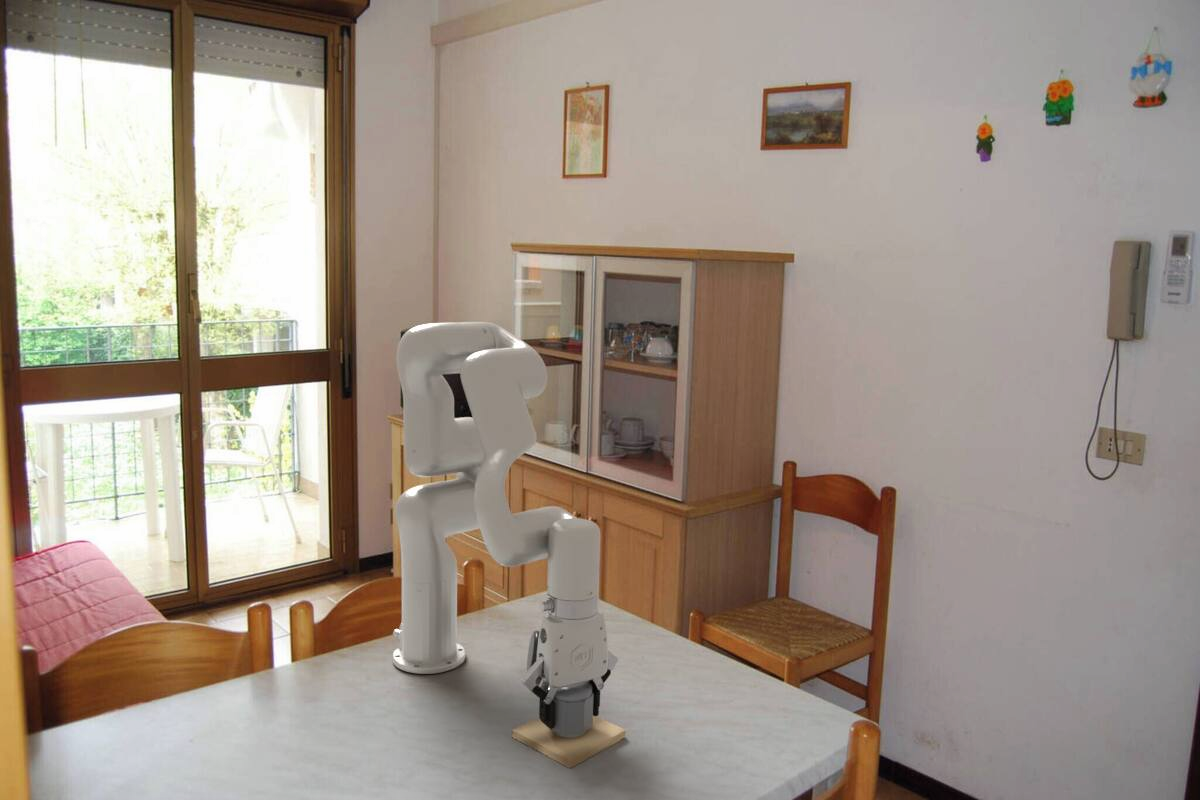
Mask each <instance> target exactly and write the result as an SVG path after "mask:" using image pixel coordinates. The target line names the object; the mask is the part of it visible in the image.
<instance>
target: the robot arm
mask: <svg viewBox="0 0 1200 800" xmlns="http://www.w3.org/2000/svg"><path fill="white" fill-rule="evenodd" d="M396 369H397V374H398V378H399V382H400V387H401V390H402V399H403V410H402V411H403V416H402V417H403V452H404V453H403V454H404V455H403V456H404V463H405V466H406V469H407V470H408V472H409V474H411V475H413V476H415V477H418V478H432V477H433V478H434V477H439V476H447V475H452V474H453V475H454V474H455V478H454V479H450V480H449V479H448V480H440V481H435V482H429V483H425V484H424V483H423V484H419V485H416V486H413V487H410V488H408V489H407V490H405V491H403V492H402V494H401V495H400V496H399V497H398V499H397V501H396V503H395V507H394V508H395V513H394V514H395V519H396V520H395V521H396V525H397V530H398V536H399V543H400V555H401V558H400V559H401V623H400V624H399V628H396V629H394V630H393V631H392V635H393V637H394V638H398V639H399V647H397V648H396V649H395V650H394V651H393V653H392V663H393V665H394V666H395V667H397V668H398V669H399V670H401V671H404V672H407V673H410V674H411V673H412V674H418V675H430V674H432V675H433V674H440V673H444V672H448V671H451V670H453V669H456V668H457V667H459V666H461V665H462V664H463V663H464V662H465V659H466V650H465V648H464V647H463V646H462V645H461V644H460V643H457V641H458V640H457V637H458V636H457V634H458V633H457V631H458V630H457V629H458V623H457V622H458V563H457V562H458V561H457V558H456V555H455V554H454V551H453V550H452V549H451V547H450V545H448V543H447V541H446V539H447V538H448V537H451V536H454V535H457V534H462V533H466V532H470V531H475V530H478V529H479V530H480V534H481V537H482V539H483V543H484V545H485V548H486V549H487V552H488V553H489V555H490V557H491V559H492V560H494V561H495V562H496V563H497V564H498V565H500V566H503V567H507V568H508V567H509V568H512V567H517V566H521V565H522V566H523V565H525V564H529V563H533V562H536V561H540V560H545V559H547V588H546V589H547V592H546V595H545V598H546V599H545V600H544V601H542V602H539V610H540V612H543V614H542V619H541V623H540V626H539V630H538V631H539V637H538V646H537V659H536V662H535V663H534V664H533V665H532V667H531V668H530V669H529V670H528V671H526V672H525V673H524V674H523V675H522V677H521V678H520V680H521V683H522V684H523V685H524V686H525V687H526V688H527V689H528V690H529V691H530V692H532V694H534V695H535V696H536V697H537V698H539V699H538V700H539V701H538V702H539V704H538V705H539V706H538V707H539V708H538V717H539V718H540V720H541V721H542V722H543V723H544V724H545V725H546V726H547V727H548V728H549V729H553V728H554V727H555V703H554V702H553V701H552V700H553V697H554V695H555V693H556V690H557V688H562V687H566V686H570V685H574V684H578V683H582V682H586V681H587V682H589V683H590V684H591V685H592V692H593V694H594V696H593V716H597V717H599V713H600V711H599V710H600V706H601V691H602V690H603V689H604V687H605V682H606V681H607V680H608V678H609V677H610V676H611V673H612V671H613V670H614V669H615V666H617V663H618V661H619V658H618V657H617V656H616V655H614V654H613V653H611V652H610V651H609V646H608V645H609V644H608V634H607V627H606V626H607V625H606V620H605V615H604V612H603V610H602V609H600V608H599V602H600V601H599V600H600V599H599V598H600V595H599V594H600V593H599V592H600V568H601V567H600V565H601V563H600V562H601V530H600V527H599V525H597V524H596V523H595V522H594V521H592V520H589V519H585V518H578V517H577V516H575V515H573V514H572V513H570V512H569V511H568V510H567V509H564V508H562V507H561V506H555V505H554V506H553V505H551V506H543V507H539V508H536V509H535V508H533V509H529V510H525V511H519V512H516V513H511V508H510V506H509V503H508V500H507V494H506V479H507V475H508V472H509V470H510V468H511V467H512V465H513V464H514V462H515V460H517V459H519V457H521V456H523V455H524V454H525V453H527V452H528V451H530V450H531V449H532V448H533V447H534V446H535V444H536V442H537V438H538V437H537V431H536V429H535V426H534V424H533V422H532V417H531V416H530V413H529V409H528V406H527V403H526V400H527V399H533V398H537V397H539V396H540V395H542V393H544V391H545V390H546V387H547V384H548V370H547V367H546V363H545V362H544V359H543V358H542V357H541V355H540V354H539V353H538V351H536V349H534V348H533V347H532V346H531V345H529V343H527V342H525V341H523V340H522V339H521V338H519V337H518V336H516V335H514V334H513V333H511V332H509V331H508V330H507V329H505V328H504V327H502V326H500V325H498V324H496V323H492V322H490V321H489V322H488V321H467V322H466V321H463V322H462V321H461V322H458V321H457V322H456V321H455V322H454V321H453V322H433V323H432V322H431V323H424V324H420V325H419V324H418V325H416V326H414V327H412V328H409V329H408V330H407V331H406V332H405V333H403V335H402V337H401V339H400V340H399V343H398V345H397V350H396ZM452 374H453V375H454V374H455V375H456V374H460V375H459V376H460V381H461V386H462V389H463V391H464V394H465V398H466V401H467V404H468V407H469V411H470V412H471V416H472V417H471V416H464V417H463V416H462V417H455V397H454V393H453V390H452V388H451V387H450V385H449V383H448V381H447V380H446V378H445V377H444V375H452ZM525 399H526V400H525ZM538 677H539V678H541V680H540V683H539V684H538V683H537V679H538Z"/></svg>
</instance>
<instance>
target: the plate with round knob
mask: <svg viewBox="0 0 1200 800" xmlns="http://www.w3.org/2000/svg"><path fill="white" fill-rule="evenodd" d="M626 732H627V731H626V729H625V728H622V727H620V726H618V725H616V724H614V723H611V722H610V721H607V720H605V719H603V718H601V717H599V716H593V726H592V727H591V728H590V729H588V730H587V731H586V732H585V733H583V734H575V735H563V734H560V733H557V732H554V731H551V730H550V729H549V728H548V727H547V726H546V725H545V724H544V723H543V722H542V721H541V720H540V718H539V716H538V717H536V718H534V719H532V720H529V721H527V722H525V723H523V724H521V725H519V726H516V727H515V728H513V729H511V738H512V737H513V738H512V739H514V740H516V739H517V740H516V741H518V740H519V741H518V742H520V741H521V742H522V744H523V743H525V744H526V745H525V744H524V745H525V746H527V745H528V746H527V747H529V746H530V747H529V748H531V747H532V748H531V749H533V748H534V749H533V750H535V751H536V750H537V751H536V752H538V751H539V752H538V753H540V752H541V754H542V753H543V754H542V755H544V756H546V755H547V756H546V757H548V758H549V759H552V760H554V761H556V762H557V763H560V765H561V764H562V765H563V766H565V767H567V768H568V769H572V768H574V767H575V766H577V765H578V764H579V765H580V764H581V763H582V762H584V761H587V760H588V759H590V758H592V757H593V756H595V755H597V754H599V753H601V752H603V751H604V750H605V749H607V748H609V747H611V746H612V745H615V744H616V743H619V742H620V741H622V740H624V739H625V738H626V734H627V733H626ZM623 738H624V739H623ZM621 739H622V740H621ZM521 742H520V743H521ZM589 757H590V758H589ZM587 758H588V759H587Z"/></svg>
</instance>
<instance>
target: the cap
mask: <svg viewBox="0 0 1200 800" xmlns="http://www.w3.org/2000/svg"><path fill="white" fill-rule="evenodd" d="M593 696H594V694H593V692H592V685H591V684H590V683H589V682H588V681H586V682H582V683H578V684H574V685H570V686H566V687H562V688H557V690H556V693H555V695H554V697H553V700H552V701H553V702H554V703H555V727H554V728H553V729H550V730H551V731H554V732H557V733H560V734H563V735H575V734H583V733H585V732H586V731H587V730H588V729H590V728H591V727H592V726H593Z"/></svg>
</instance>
